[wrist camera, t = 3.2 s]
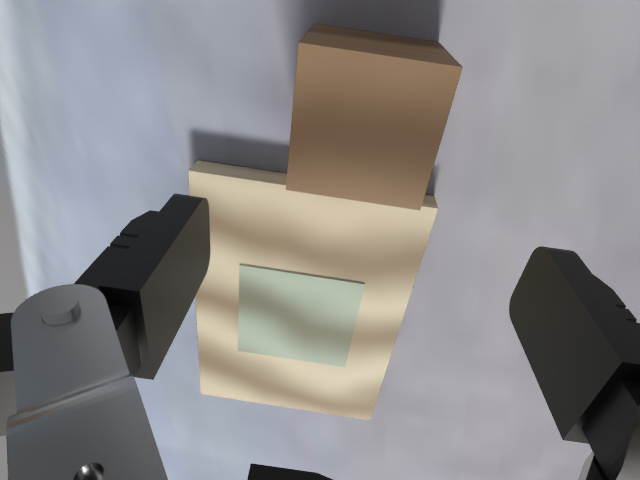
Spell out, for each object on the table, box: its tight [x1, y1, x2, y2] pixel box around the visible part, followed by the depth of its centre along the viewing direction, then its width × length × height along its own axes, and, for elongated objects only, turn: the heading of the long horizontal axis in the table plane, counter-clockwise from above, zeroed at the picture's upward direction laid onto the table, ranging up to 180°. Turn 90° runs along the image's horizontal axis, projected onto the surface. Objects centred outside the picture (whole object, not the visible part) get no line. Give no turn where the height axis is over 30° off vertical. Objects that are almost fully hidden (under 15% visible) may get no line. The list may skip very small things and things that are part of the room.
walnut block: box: [286, 24, 463, 210], centre depth 19 cm, size 6×6×6 cm
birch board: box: [189, 160, 438, 420], centre depth 29 cm, size 20×14×2 cm
